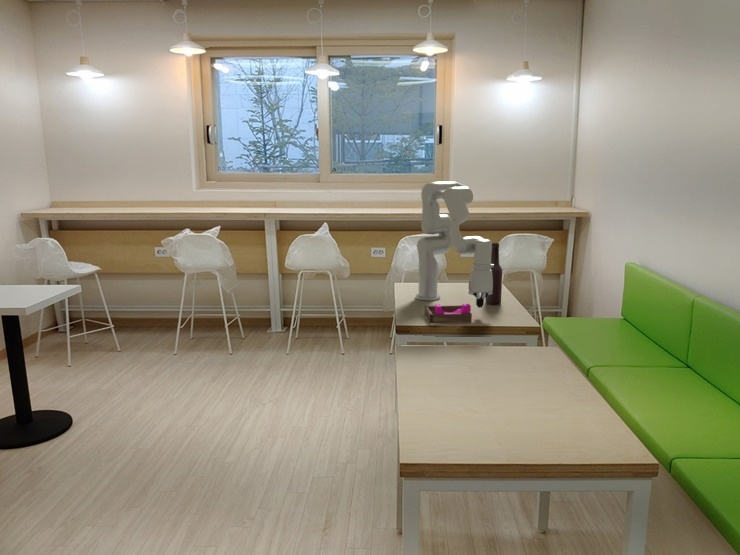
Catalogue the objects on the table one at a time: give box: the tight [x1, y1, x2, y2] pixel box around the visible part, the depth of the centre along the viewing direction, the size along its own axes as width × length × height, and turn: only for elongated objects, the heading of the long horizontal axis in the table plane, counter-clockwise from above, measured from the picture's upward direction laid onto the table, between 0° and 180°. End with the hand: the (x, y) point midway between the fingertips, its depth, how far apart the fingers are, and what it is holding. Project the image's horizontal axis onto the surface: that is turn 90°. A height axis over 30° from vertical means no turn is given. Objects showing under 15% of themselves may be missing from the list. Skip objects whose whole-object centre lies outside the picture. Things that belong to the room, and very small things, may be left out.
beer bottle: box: [485, 242, 503, 306], centre depth 285 cm, size 8×8×30 cm
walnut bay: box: [424, 304, 473, 324], centre depth 262 cm, size 15×18×4 cm
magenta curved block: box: [434, 303, 472, 314], centre depth 259 cm, size 15×6×8 cm, turn 95°
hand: (479, 306), depth 263 cm, fingers closed
